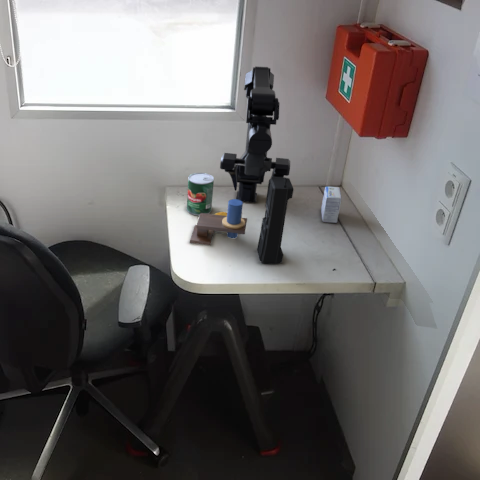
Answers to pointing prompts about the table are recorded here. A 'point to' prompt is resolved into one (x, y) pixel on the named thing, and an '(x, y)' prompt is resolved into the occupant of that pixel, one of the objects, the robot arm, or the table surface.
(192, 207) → the canned tomato
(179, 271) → the table surface
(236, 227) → the peg
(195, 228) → the stand
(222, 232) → the bread roll
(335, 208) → the medicine box
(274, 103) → the robot arm
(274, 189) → the portable radio
